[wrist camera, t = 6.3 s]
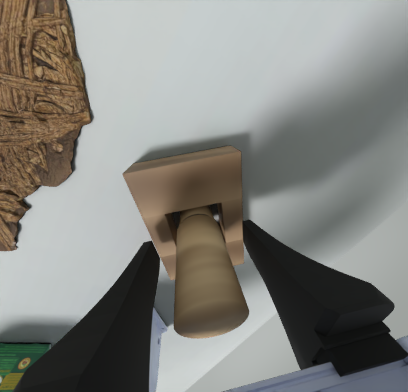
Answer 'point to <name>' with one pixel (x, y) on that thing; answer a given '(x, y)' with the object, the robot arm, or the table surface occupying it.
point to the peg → (205, 279)
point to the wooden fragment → (36, 104)
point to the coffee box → (17, 362)
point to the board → (189, 196)
